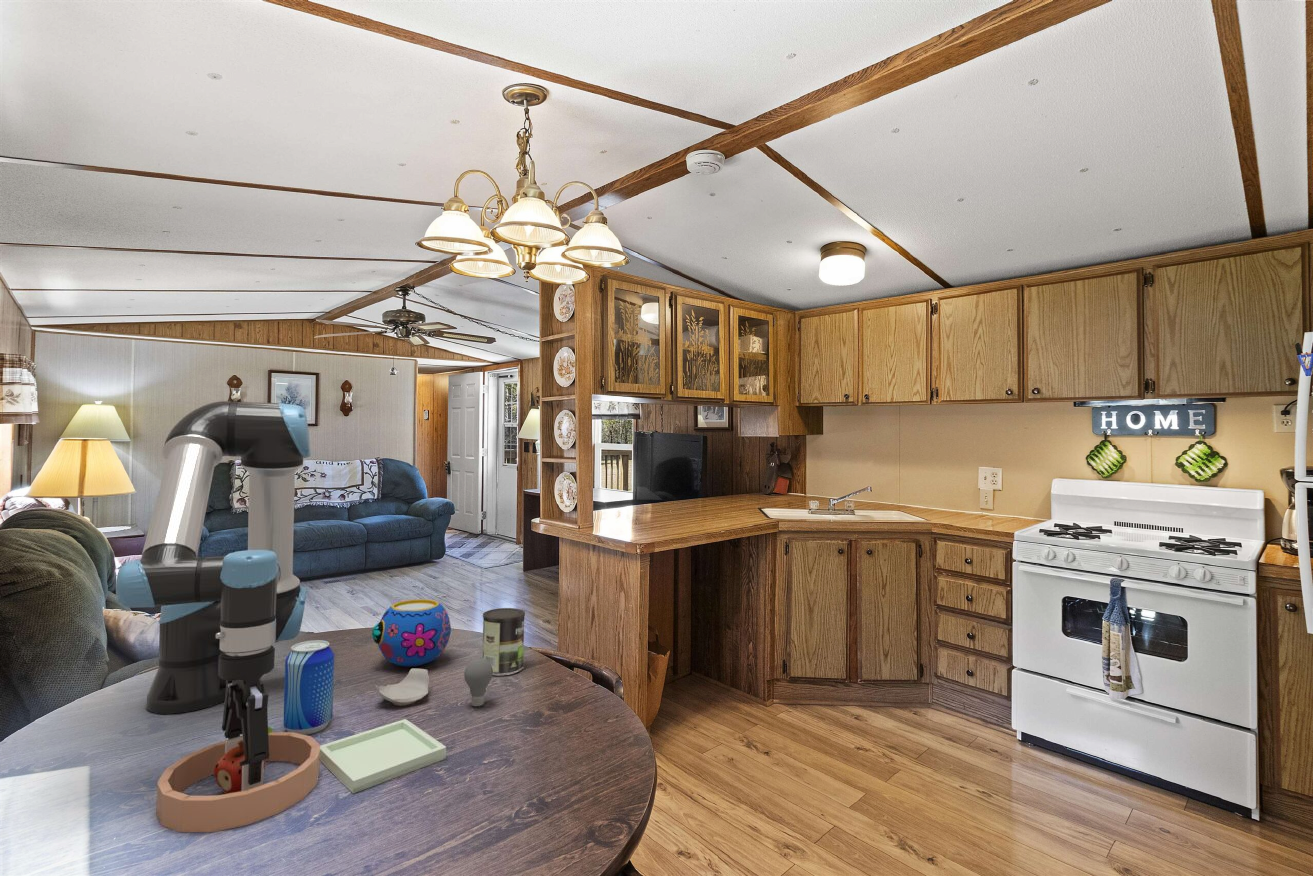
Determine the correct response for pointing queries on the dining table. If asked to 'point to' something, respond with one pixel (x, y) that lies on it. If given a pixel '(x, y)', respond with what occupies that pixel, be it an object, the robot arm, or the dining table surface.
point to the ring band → (240, 805)
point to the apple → (231, 768)
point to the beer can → (308, 687)
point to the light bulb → (478, 679)
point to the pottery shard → (407, 688)
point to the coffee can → (503, 639)
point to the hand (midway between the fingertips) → (242, 789)
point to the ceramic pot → (413, 632)
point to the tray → (380, 754)
